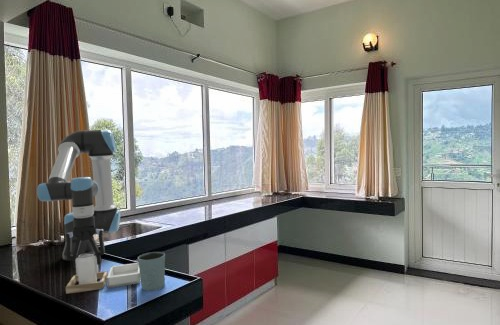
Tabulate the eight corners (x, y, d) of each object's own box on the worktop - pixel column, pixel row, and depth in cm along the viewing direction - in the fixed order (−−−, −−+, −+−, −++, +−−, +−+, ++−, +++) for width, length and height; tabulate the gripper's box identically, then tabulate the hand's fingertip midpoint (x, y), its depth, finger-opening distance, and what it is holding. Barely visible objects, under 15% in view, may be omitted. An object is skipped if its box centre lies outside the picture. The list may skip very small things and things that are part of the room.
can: (99, 280, 137) (97, 251, 136) (92, 287, 130) (90, 257, 130) (83, 281, 136) (81, 252, 136) (76, 288, 130) (73, 258, 129)
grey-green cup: (140, 294, 122) (138, 261, 121) (138, 284, 131) (136, 254, 131) (168, 288, 126) (167, 256, 125) (164, 279, 135) (162, 250, 135)
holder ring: (74, 281, 138) (73, 275, 137) (108, 276, 141) (107, 270, 141) (66, 294, 125) (65, 287, 125) (103, 288, 129) (103, 282, 129)
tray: (111, 275, 142) (111, 266, 142) (141, 271, 145) (140, 262, 145) (107, 288, 129) (106, 278, 128) (140, 283, 132) (139, 273, 132)
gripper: (54, 220, 126) (58, 280, 127) (108, 215, 131) (112, 273, 132) (59, 217, 133) (63, 274, 134) (110, 212, 138) (114, 267, 139)
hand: (87, 273), depth 133 cm, fingers closed on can, 6 cm apart
